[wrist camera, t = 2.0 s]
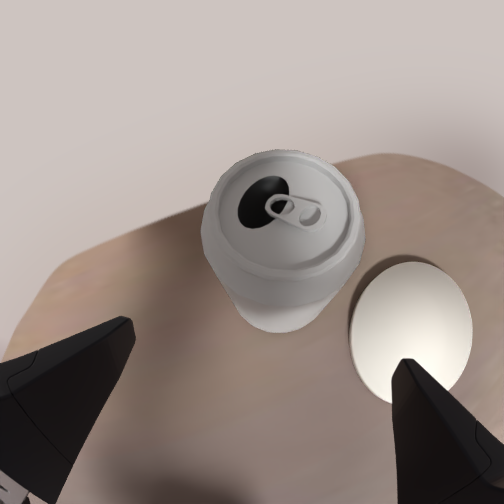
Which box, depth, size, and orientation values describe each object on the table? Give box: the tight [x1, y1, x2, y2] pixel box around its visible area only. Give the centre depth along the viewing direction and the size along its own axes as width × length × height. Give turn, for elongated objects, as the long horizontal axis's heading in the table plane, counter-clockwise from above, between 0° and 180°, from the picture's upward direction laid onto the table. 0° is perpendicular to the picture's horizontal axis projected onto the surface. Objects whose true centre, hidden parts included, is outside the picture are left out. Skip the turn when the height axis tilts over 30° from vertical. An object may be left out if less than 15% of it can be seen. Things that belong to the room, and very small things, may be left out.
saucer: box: [349, 262, 472, 403], centre depth 19 cm, size 12×12×1 cm
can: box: [200, 150, 366, 333], centre depth 16 cm, size 8×8×12 cm
